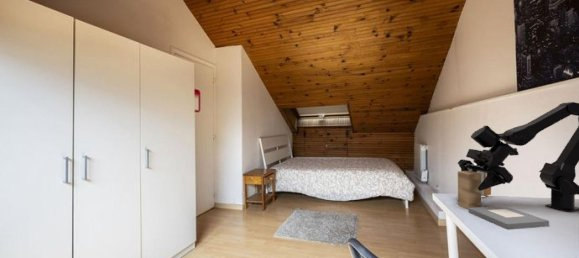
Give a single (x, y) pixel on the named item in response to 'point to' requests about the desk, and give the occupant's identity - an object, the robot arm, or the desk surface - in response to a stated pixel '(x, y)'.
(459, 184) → the oak block
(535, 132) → the robot arm
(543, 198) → the desk surface
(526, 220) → the baseplate
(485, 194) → the small box
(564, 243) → the desk surface
